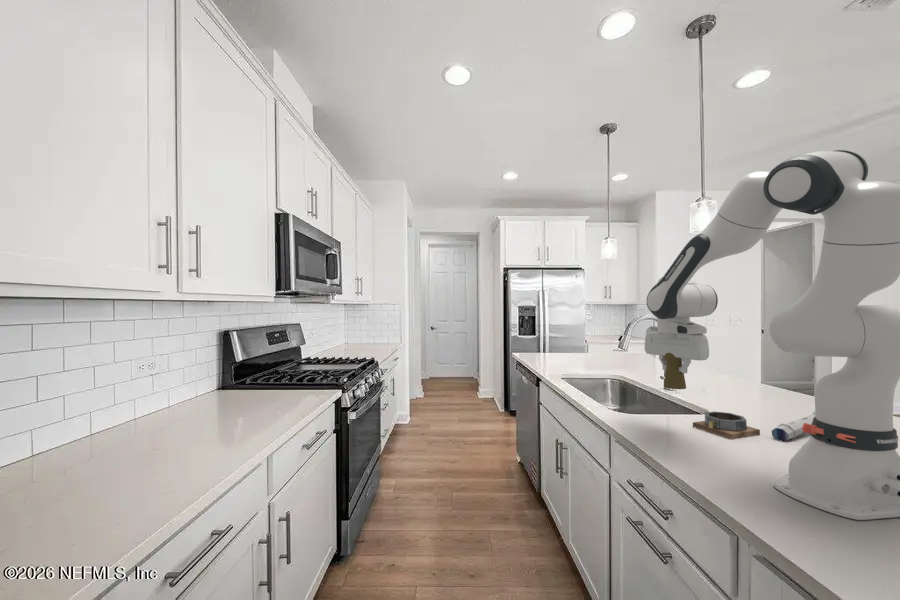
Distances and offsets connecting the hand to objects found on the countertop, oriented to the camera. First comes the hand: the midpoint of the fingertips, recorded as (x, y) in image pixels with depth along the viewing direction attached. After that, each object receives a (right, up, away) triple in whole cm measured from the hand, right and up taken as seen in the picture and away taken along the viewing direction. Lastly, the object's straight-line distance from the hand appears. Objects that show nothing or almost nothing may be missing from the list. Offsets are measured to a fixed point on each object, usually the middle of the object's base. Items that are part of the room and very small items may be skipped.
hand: (674, 371), depth 114 cm
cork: (0, -5, 0) cm, 5 cm away
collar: (+16, -17, 0) cm, 23 cm away
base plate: (+16, -19, 0) cm, 25 cm away
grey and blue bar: (+37, -19, -4) cm, 41 cm away
